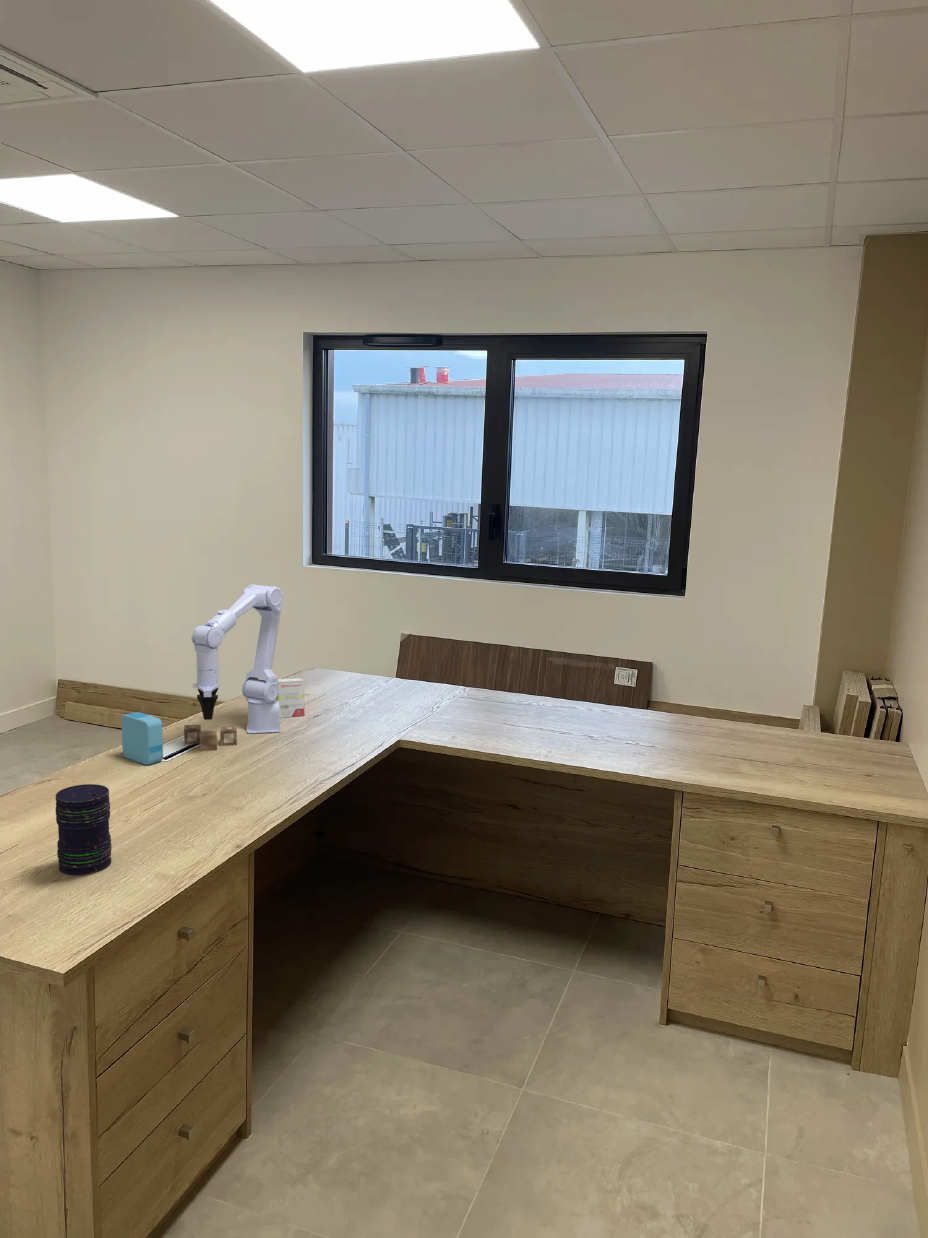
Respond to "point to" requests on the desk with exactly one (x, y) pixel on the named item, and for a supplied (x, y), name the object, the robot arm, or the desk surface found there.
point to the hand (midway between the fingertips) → (208, 716)
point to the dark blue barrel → (83, 829)
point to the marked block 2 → (228, 735)
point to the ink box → (290, 697)
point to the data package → (142, 738)
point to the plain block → (208, 740)
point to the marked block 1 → (192, 734)
